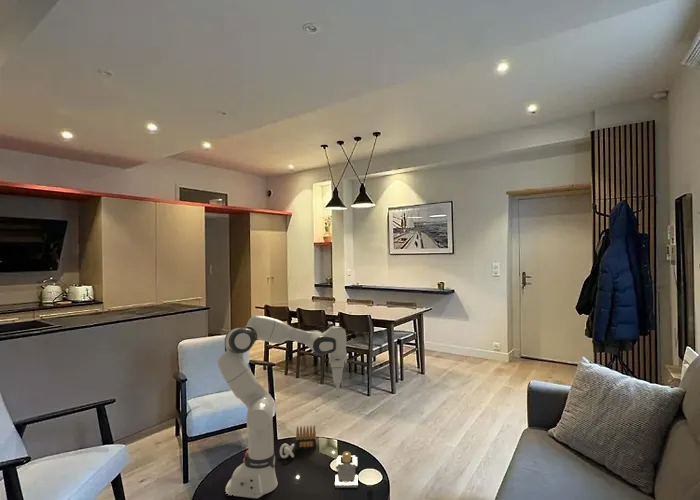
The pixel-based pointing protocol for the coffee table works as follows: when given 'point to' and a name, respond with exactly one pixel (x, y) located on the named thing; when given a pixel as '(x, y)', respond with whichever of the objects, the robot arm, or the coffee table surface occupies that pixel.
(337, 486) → the hinge
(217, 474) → the coffee table surface
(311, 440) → the ammunition clip
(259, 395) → the robot arm
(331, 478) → the coffee table surface
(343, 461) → the hinge pin
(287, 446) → the knot
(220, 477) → the coffee table surface
